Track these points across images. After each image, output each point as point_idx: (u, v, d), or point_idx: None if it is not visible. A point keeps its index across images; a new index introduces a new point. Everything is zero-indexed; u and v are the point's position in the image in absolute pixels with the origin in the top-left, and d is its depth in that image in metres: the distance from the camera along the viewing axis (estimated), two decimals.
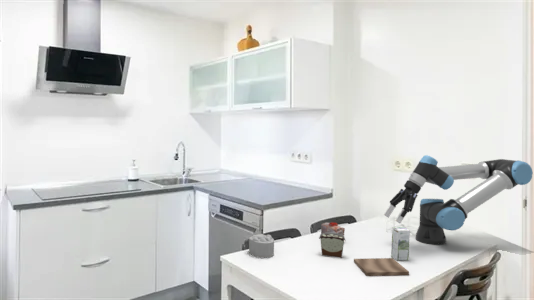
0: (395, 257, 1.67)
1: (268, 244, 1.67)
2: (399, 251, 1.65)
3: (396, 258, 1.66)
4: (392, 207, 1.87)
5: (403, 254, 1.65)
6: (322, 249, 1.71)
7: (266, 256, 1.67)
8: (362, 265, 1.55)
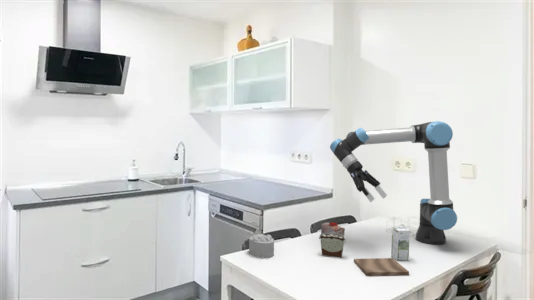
0: (395, 257, 1.67)
1: (268, 244, 1.67)
2: (399, 251, 1.65)
3: (396, 258, 1.66)
4: (377, 187, 1.81)
5: (403, 254, 1.65)
6: (322, 249, 1.71)
7: (266, 256, 1.67)
8: (362, 265, 1.55)
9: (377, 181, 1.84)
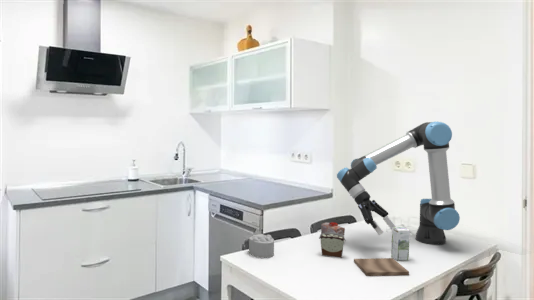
0: (395, 257, 1.67)
1: (268, 244, 1.67)
2: (399, 251, 1.65)
3: (396, 258, 1.66)
4: (386, 218, 1.78)
5: (403, 254, 1.65)
6: (322, 249, 1.71)
7: (266, 256, 1.67)
8: (362, 265, 1.55)
9: (385, 211, 1.81)
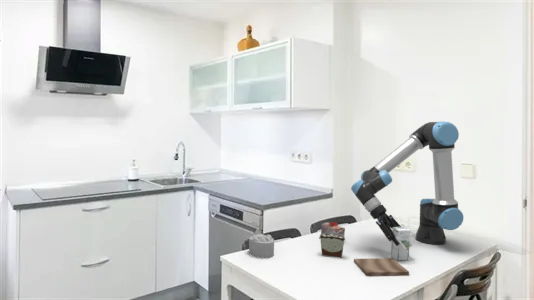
0: (395, 257, 1.67)
1: (268, 244, 1.67)
2: (399, 251, 1.65)
3: (396, 258, 1.66)
4: None
5: (403, 254, 1.65)
6: (322, 249, 1.71)
7: (266, 256, 1.67)
8: (362, 265, 1.55)
9: None
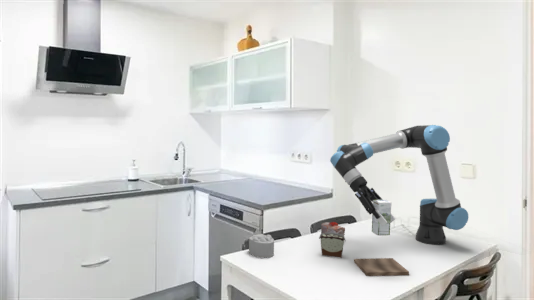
0: (375, 232, 1.54)
1: (268, 244, 1.67)
2: (379, 224, 1.52)
3: (377, 233, 1.53)
4: None
5: (384, 228, 1.53)
6: (322, 249, 1.71)
7: (266, 256, 1.67)
8: (362, 265, 1.55)
9: None
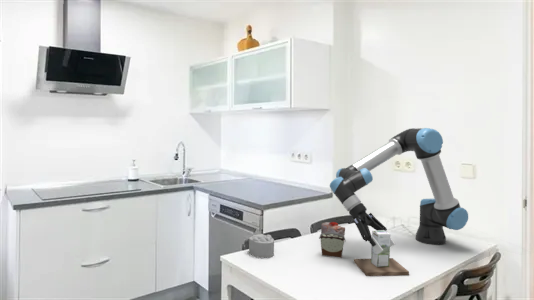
0: (375, 263, 1.54)
1: (268, 244, 1.67)
2: (379, 256, 1.53)
3: (376, 264, 1.53)
4: None
5: (383, 260, 1.53)
6: (322, 249, 1.71)
7: (266, 256, 1.67)
8: (362, 265, 1.55)
9: (383, 226, 1.63)
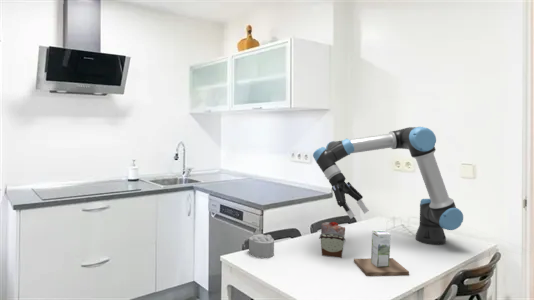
0: (375, 263, 1.54)
1: (268, 244, 1.67)
2: (379, 256, 1.53)
3: (376, 264, 1.53)
4: (359, 202, 1.72)
5: (383, 260, 1.53)
6: (322, 249, 1.71)
7: (266, 256, 1.67)
8: (362, 265, 1.55)
9: (359, 194, 1.75)
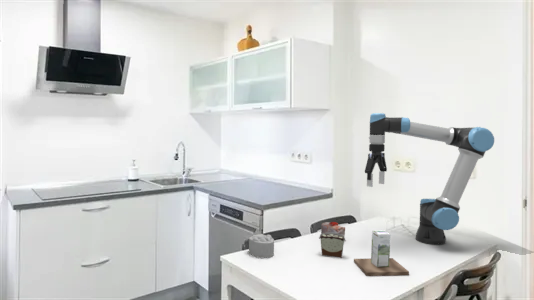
0: (375, 263, 1.54)
1: (268, 244, 1.67)
2: (379, 256, 1.53)
3: (376, 264, 1.53)
4: (381, 173, 1.89)
5: (383, 260, 1.53)
6: (322, 249, 1.71)
7: (266, 256, 1.67)
8: (362, 265, 1.55)
9: (385, 167, 1.90)
